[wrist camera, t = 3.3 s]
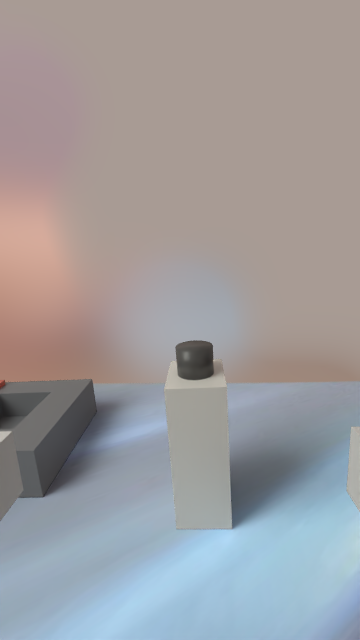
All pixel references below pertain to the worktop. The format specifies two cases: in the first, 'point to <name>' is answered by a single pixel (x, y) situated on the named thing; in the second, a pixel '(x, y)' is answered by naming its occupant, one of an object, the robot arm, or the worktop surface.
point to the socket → (45, 426)
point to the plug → (198, 438)
